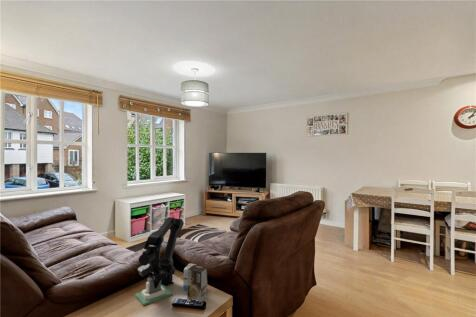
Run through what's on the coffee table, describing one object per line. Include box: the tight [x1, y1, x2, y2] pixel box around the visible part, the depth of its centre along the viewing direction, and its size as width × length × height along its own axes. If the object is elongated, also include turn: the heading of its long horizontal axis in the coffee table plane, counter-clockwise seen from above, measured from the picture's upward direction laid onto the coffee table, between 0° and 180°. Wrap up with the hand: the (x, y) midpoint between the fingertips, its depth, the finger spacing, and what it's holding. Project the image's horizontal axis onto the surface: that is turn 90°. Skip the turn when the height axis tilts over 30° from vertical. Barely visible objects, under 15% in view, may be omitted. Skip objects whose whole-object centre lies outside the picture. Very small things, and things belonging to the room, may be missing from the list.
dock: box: [134, 285, 173, 307], centre depth 133 cm, size 16×12×3 cm
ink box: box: [182, 263, 197, 291], centre depth 143 cm, size 8×5×12 cm, turn 168°
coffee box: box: [186, 264, 209, 302], centre depth 132 cm, size 9×6×16 cm
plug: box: [145, 276, 161, 294], centre depth 133 cm, size 7×4×8 cm, turn 131°
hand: (154, 286), depth 133 cm, fingers closed on plug, 4 cm apart
